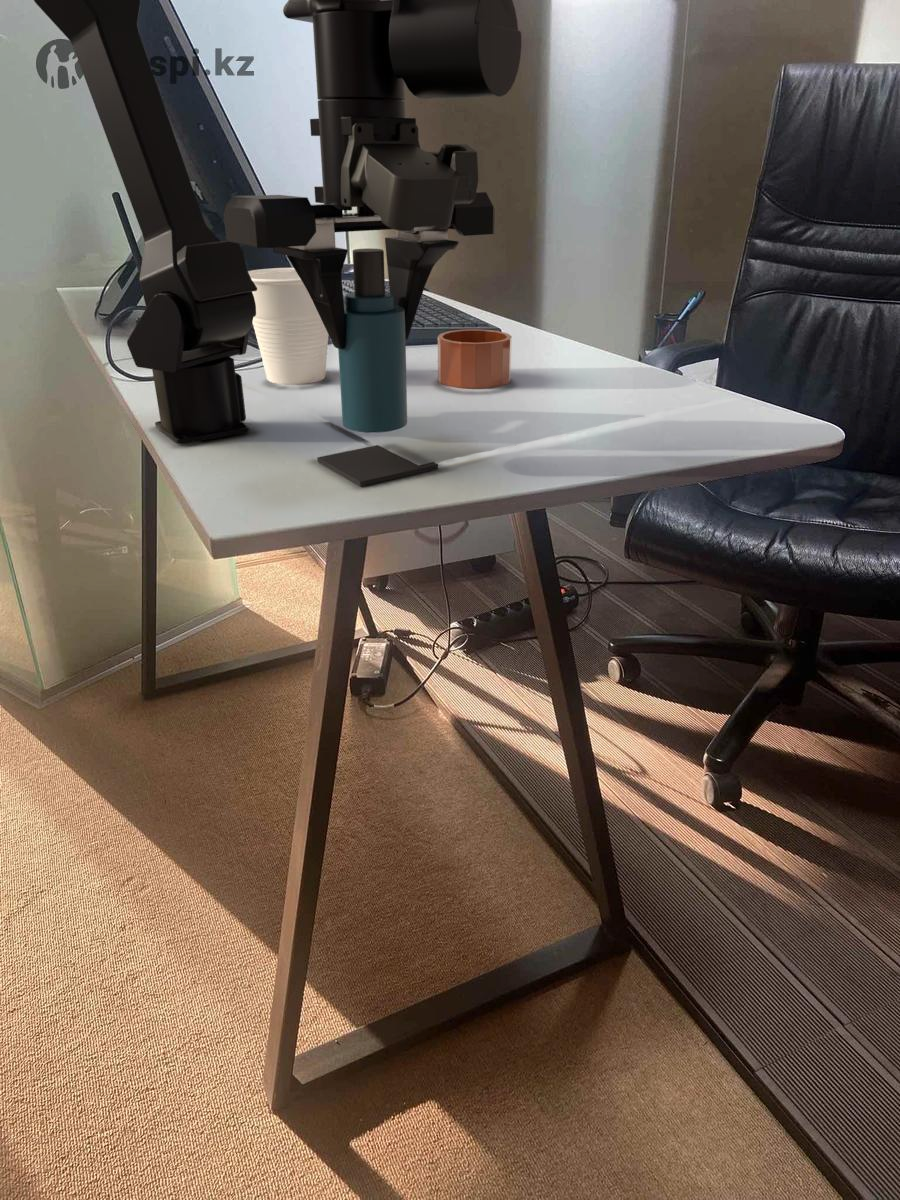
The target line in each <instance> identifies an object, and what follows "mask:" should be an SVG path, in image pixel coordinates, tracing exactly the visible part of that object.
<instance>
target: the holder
mask: <svg viewBox="0 0 900 1200" xmlns="http://www.w3.org/2000/svg"><path fill="white" fill-rule="evenodd" d="M512 340H513V336H512V335H511V334H509V333H508V332H503V331H499V330H491V329H475V328H474V329H473V328H472V329H457V330H450V331H449V330H448V331H445V332H442V333H439V335H437V380H438V383H440V384H442V385H443V386H446V387H450V388H455V389H464V390H465V389H466V390H482V389H485V390H486V389H493V388H500V387H503V386H506V385H507V384H509V383H510V382H511V378H512V375H511V373H512V345H513V344H512V343H513V342H512Z"/></svg>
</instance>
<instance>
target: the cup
mask: <svg viewBox="0 0 900 1200" xmlns="http://www.w3.org/2000/svg"><path fill="white" fill-rule="evenodd" d="M248 273H249V275H250V277H251V279H252V281H253V282H254V284H255V285H256V287H257V291H253V292H252V293H253V296H254V299H255V304H256V316H255V317H253V321H252V326H253V330H254V334H255V337H256V340H257V344H258V349H259V353H260V357H261V359H262V364H263V368H264V372H265V377H266V380H267V381H268V382H270V383H273V384H279V385H307V384H312V383H317V382H320V381H322V380H324V379H325V378H326V372H327V371H326V370H327V360H328V358H327V357H328V346H329V335H328V333H327V331H326V328H325V326H324V324H323V322H322V320H321V318H320V316H319V314H318V311H317V309H316V307H315V305H314V303H313V301H312V299H311V297H310V295H309V293H308V291H307V289H306V287H305V285H304V284H303V282H302V280H301V279H300V277H299V275H298V274H297V272H296V270H295V269H294V267H274V268H262V269H261V268H260V269H253V270H248Z"/></svg>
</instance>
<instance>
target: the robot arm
mask: <svg viewBox="0 0 900 1200" xmlns="http://www.w3.org/2000/svg"><path fill="white" fill-rule="evenodd" d="M33 1H34V3H35V4H36V6H38V7H39V9H40V10H41V11H42V12H43V13H44V14H45V15H46V16H47V18H49V20H50V21H51V22H52V23H53V24H54V25H55V26H56V27H57V28H58V29H59V31H60V32H61V33H62V34H63V35H64V36H65V37H66V38H67V39H68V40H69V42H70V44H71V46H72V49H73V50H74V53H75V56H76V59H77V61H78V64H79V66H80V67H79V68H80V69H81V72H82V75H83V77H84V80H85V82H86V86H87V88H88V91H89V94H90V96H91V98H92V102H93V104H94V108H95V109H96V113H97V115H98V118H99V120H100V123H101V126H102V128H103V131H104V135H105V136H106V140H107V143H108V144H109V147H110V150H111V153H112V155H113V158H114V161H115V164H116V166H117V169H118V172H119V174H120V178H121V180H122V183H123V186H124V188H125V190H126V194H127V196H128V200H129V202H130V204H131V207H132V210H133V212H134V215H135V218H136V220H137V223H138V226H139V229H140V231H141V235H142V237H143V241H144V244H143V252H142V259H141V265H140V271H139V280H138V281H139V285H140V288H141V292H142V293H141V294H142V296H143V300H144V304H145V309H144V311H143V313H142V314H141V317H140V318H139V320H138V322H137V323H136V325H135V327H134V328H133V329H132V332H131V334H130V335H129V337H128V339H127V340H126V344H127V345H126V346H127V348H128V350H129V352H130V354H131V357H132V360H133V362H134V365H135V366H136V368H142V369H148V370H151V371H152V377H153V382H154V389H155V395H156V401H157V407H158V413H159V419H160V420H158V421H155V422H154V426H155V429H156V430H158V431H159V432H161V433H162V434H164V435H165V436H166V437H168V438H169V439H170V440H171V441H173V442H175V443H176V444H179V445H185V444H189V443H197V442H201V441H206V440H207V441H208V440H212V439H217V438H223V437H229V436H235V435H241V434H245V433H249V432H250V426H249V425H247V424H246V423H244V422H245V421H246V420H247V415H246V405H245V397H244V388H243V378H242V375H240V374H239V373H237V372H236V365H235V359H234V358H233V357H235V356H242V355H245V354H246V353H247V350H248V342H249V337H250V332H251V328H252V326H253V322H252V321H253V317H255V316H256V304H255V299H254V296H253V293H252V292H253V291H257V287H256V285H255V284H254V282H253V281H252V279H251V277H250V275H249V273H248V271H249V270H248V267H247V263H246V258H245V253H244V250H243V248H242V246H241V245H243V246H247V247H251V248H259V249H263V248H264V249H272V251H273V253H274V254H277V255H284V256H286V257H287V259H288V261H289V262H290V264H291V265H292V268H294V269H295V270H296V272H297V274H298V275H299V277H300V279H301V280H302V282H303V284H304V285H305V287H306V289H307V291H308V293H309V295H310V297H311V299H312V301H313V303H314V305H315V307H316V309H317V311H318V314H319V316H320V318H321V320H322V322H323V324H324V326H325V328H326V331H327V333H328V335H329V336H328V338H329V339H330V342H331V344H332V345H333V347H334V348H335V349H337V350H338V349H344V348H345V342H346V323H345V312H344V306H345V300H344V291H343V289H344V288H343V278H342V273H343V269H344V265H345V262H346V258H347V255H348V249H347V248H342V247H336V233H349V232H350V233H351V232H366V231H368V232H369V231H385V230H386V231H387V230H395V236H389V237H387V236H386V237H384V243H385V244H384V246H385V253H386V254H385V256H386V266H387V274H388V275H387V277H388V287H389V293H393V294H394V295H395V305H396V306H400V307H403V308H404V309H405V340H406V341H408V339H409V336H410V334H411V331H412V328H413V324H414V321H415V318H416V316H417V312H418V308H419V305H420V302H421V299H422V296H423V293H424V290H425V287H426V284H427V283H428V280H429V277H430V275H431V273H432V270H433V268H434V267H435V266H436V264H437V263H438V262H439V260H441V258H442V257H443V256H445V254H446V253H447V252H449V251H450V250H451V251H452V250H456V249H457V248H458V246H459V243H460V242H459V241H458V240H452V239H451V240H450V239H449V230H455V231H456V233H457V234H458V235H459V236H463V237H466V236H467V237H469V236H470V237H471V236H484V235H487V236H488V235H494V234H495V223H496V222H495V220H496V219H495V218H496V217H495V215H496V208H495V207H494V205H493V202H492V201H491V199H490V197H489V194H488V193H487V191H477V190H478V186H479V163H478V162H479V161H478V151H477V150H475V149H474V148H472V147H471V146H470V145H468V144H467V143H445V144H443V145H442V146H441V148H440V150H439V151H425V150H424V149H422V148H421V146H420V142H419V140H420V139H419V127H418V125H417V118H416V117H406V101H405V100H406V96H405V95H406V93H405V91H406V89H405V85H406V88H407V89H408V91H409V92H410V93H411V94H412V95H413V96H415V97H416V98H418V99H421V100H423V99H424V100H428V99H458V98H459V99H462V98H464V99H465V98H496V97H504V96H506V95H507V94H509V92H510V91H511V90H512V87H513V85H514V84H515V82H516V78H517V76H518V72H519V68H520V63H521V56H522V55H521V54H522V53H521V52H522V32H521V31H520V30H519V26H518V25H519V24H518V17H517V13H516V12H517V11H516V7H515V4H514V1H513V0H288V1H287V2H286V3H285V4H284V6H283V9H282V12H283V15H284V17H285V18H286V19H289V20H295V21H300V22H306V23H311V24H312V28H313V29H312V31H313V45H314V46H313V47H314V63H315V78H316V79H315V81H316V94H317V95H316V96H317V111H318V118H310V119H309V125H310V126H309V127H310V136H311V137H319V145H320V147H319V148H320V160H321V161H320V162H321V179H322V186H321V185H320V186H314V202H315V203H316V204H311V202H310V199H309V198H308V197H306V196H295V195H285V194H258V195H231V196H230V198H229V200H228V202H227V203H226V205H225V209H224V212H223V221H224V230H225V239H226V240H223V241H221V239H220V238H218V237H217V235H216V234H215V233H214V232H213V231H212V230H211V229H210V228H209V226H208V225H207V223H206V221H205V220H204V219H205V218H204V216H203V214H202V211H201V208H200V205H199V202H198V199H197V197H196V193H195V191H194V188H193V185H192V182H191V179H190V176H189V172H188V171H187V167H186V165H185V161H184V159H183V156H182V154H181V150H180V147H179V144H178V142H177V139H176V136H175V133H174V130H173V127H172V125H171V121H170V118H169V115H168V113H167V110H166V107H165V103H164V101H163V98H162V96H161V93H160V90H159V88H158V85H157V81H156V79H155V75H154V72H153V70H152V66H151V64H150V61H149V59H148V55H147V52H146V49H145V47H144V44H143V41H142V38H141V36H140V31H139V27H138V25H139V17H140V11H141V5H142V0H33ZM353 208H356V212H346V213H345V212H344V211H353ZM343 212H344V213H343Z"/></svg>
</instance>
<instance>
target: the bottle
mask: <svg viewBox="0 0 900 1200" xmlns="http://www.w3.org/2000/svg"><path fill="white" fill-rule="evenodd" d="M352 268H353V269H352V270H353V287H354V288H353V290H354V291H353V292H349V293H346V294H345V295H344V312H345V323H346V342H345V348H344V349H338V348H337V350H338V351H337V353H338V367H339V384H340V385H339V386H340V402H341V404H340V405H341V421H342V426H343V427H344V428H345V429H347V430H350V431H354V432H359V433H374V434H375V433H387V432H393V431H397V430H399V429H402V428H404V427H406V426H407V424H408V395H407V394H408V393H407V392H408V391H407V389H408V388H407V347H406V346H407V345H406V344H407V343H406V342H407V340H405V309H404V308H403V307H400V306H396V305H395V295H394V294H393V293H390V291H386V279H385V278H386V276H385V274H386V273H385V251H384V249H381V248H371V247H370V248H356V249H353V250H352Z"/></svg>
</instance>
